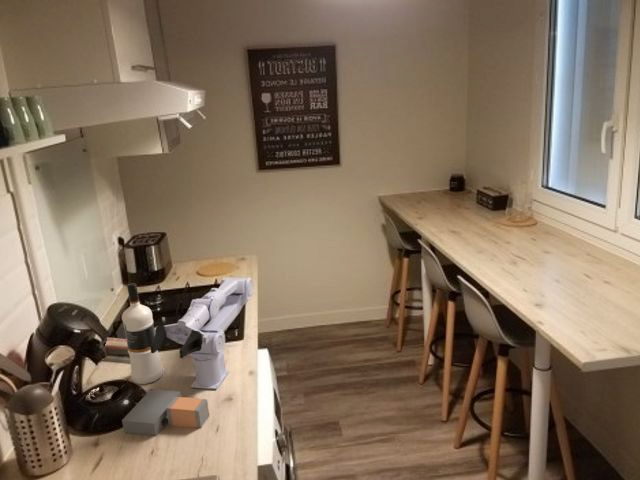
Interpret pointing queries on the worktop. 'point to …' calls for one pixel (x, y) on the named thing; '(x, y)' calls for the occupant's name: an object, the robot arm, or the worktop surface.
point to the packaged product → (117, 350)
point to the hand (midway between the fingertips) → (166, 352)
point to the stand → (149, 412)
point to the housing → (187, 412)
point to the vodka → (140, 340)
